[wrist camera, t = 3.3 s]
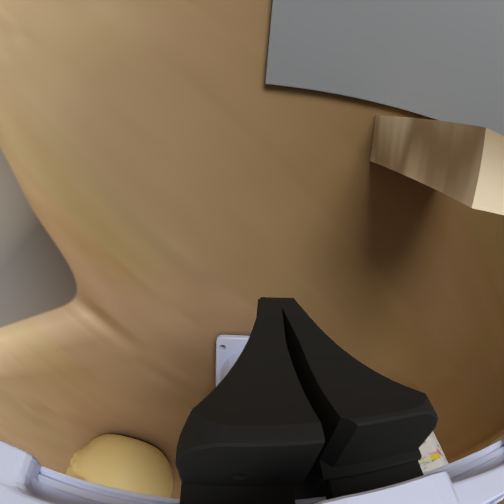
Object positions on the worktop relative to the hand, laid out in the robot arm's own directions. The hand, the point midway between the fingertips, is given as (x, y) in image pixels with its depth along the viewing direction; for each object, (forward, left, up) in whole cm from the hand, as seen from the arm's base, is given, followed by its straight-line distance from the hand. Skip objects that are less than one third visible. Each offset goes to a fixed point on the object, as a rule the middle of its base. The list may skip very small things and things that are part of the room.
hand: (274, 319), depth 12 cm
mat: (+17, -9, -9) cm, 22 cm away
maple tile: (+7, -9, -9) cm, 15 cm away
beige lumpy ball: (-29, +14, -9) cm, 33 cm away
